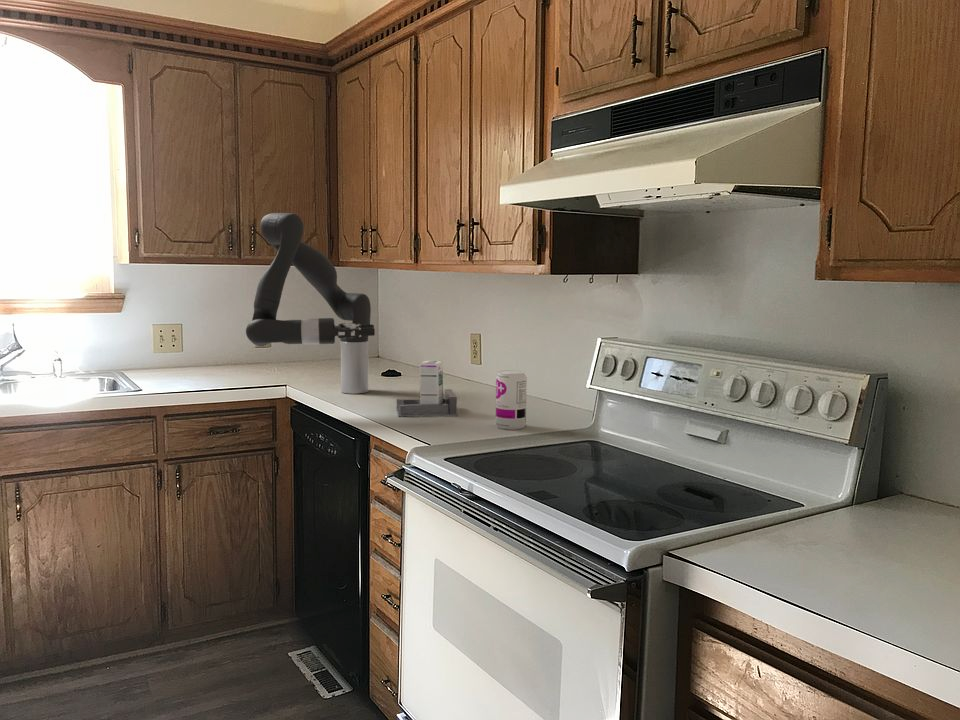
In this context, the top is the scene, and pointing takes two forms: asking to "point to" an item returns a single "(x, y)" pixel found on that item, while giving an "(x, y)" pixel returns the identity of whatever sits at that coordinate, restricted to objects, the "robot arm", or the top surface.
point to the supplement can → (511, 399)
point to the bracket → (428, 406)
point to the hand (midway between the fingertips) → (374, 329)
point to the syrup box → (431, 382)
